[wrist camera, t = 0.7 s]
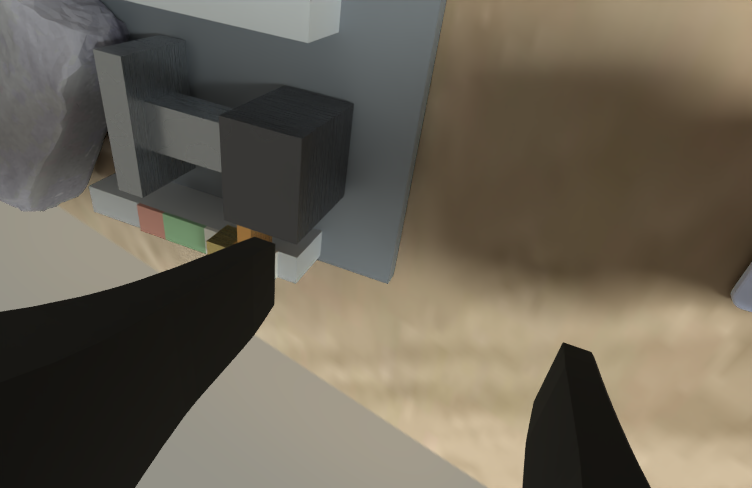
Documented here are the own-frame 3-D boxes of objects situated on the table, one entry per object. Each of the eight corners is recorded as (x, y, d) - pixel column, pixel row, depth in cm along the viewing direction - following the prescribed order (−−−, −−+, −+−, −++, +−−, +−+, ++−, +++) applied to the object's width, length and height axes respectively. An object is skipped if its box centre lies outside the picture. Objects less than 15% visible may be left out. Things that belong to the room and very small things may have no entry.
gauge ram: (356, 82, 18) (302, 114, 15) (339, 235, 22) (294, 288, 18) (162, 34, 20) (75, 52, 17) (178, 182, 24) (110, 221, 20)
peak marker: (248, 231, 20) (228, 248, 19) (248, 266, 21) (229, 284, 20) (227, 224, 20) (206, 240, 19) (228, 259, 21) (208, 276, 20)
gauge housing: (447, -4, 16) (419, 6, 14) (393, 274, 23) (367, 317, 21) (92, -73, 20) (15, -76, 17) (135, 187, 27) (84, 215, 24)
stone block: (1, 80, 29) (93, 213, 27) (-107, 82, 25) (-6, 237, 24) (37, -121, 21) (163, 48, 20) (-107, -160, 18) (38, 44, 17)
